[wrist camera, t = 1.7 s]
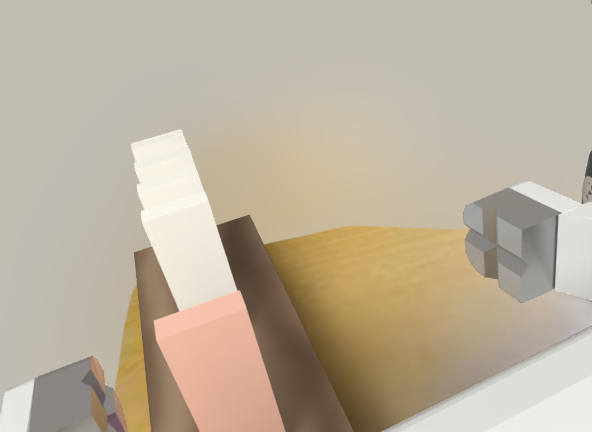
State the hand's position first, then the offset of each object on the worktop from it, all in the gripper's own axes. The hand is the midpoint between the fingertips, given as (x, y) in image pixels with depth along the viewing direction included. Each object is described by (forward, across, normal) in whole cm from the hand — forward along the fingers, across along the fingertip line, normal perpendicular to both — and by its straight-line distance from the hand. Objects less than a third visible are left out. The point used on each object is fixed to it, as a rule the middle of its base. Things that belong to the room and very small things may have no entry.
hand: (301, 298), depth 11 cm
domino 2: (+29, -1, -23) cm, 37 cm away
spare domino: (+17, -2, -24) cm, 30 cm away
